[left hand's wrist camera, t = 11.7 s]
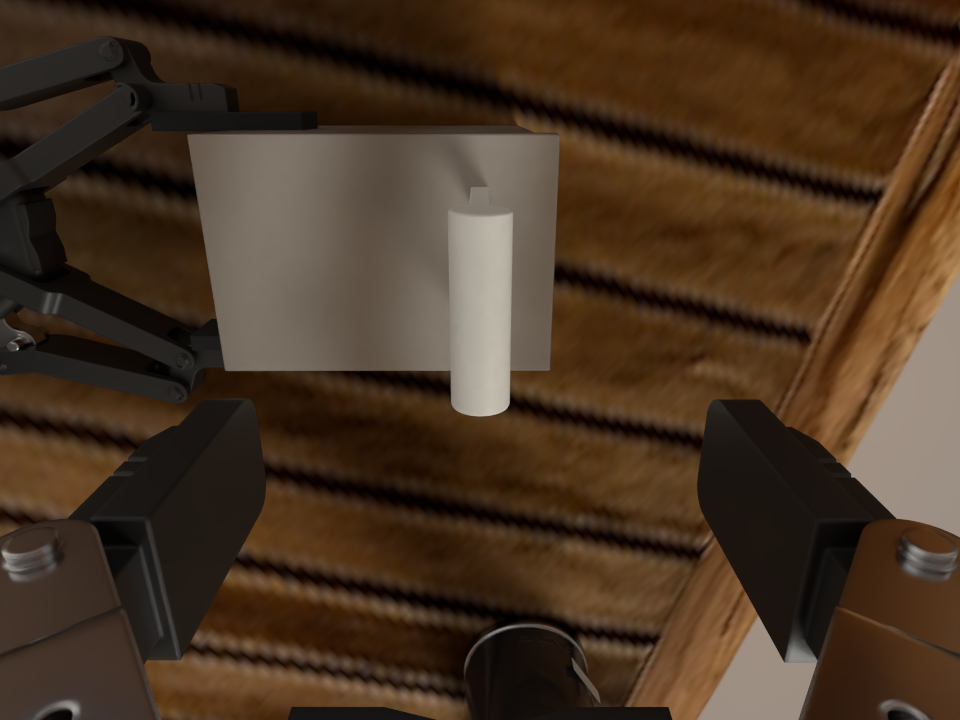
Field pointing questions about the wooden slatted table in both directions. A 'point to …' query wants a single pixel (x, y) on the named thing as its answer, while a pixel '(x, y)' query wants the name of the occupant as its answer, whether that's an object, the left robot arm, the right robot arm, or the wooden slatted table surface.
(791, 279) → the wooden slatted table surface
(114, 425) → the wooden slatted table surface
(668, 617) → the wooden slatted table surface
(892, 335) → the wooden slatted table surface
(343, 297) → the lid
